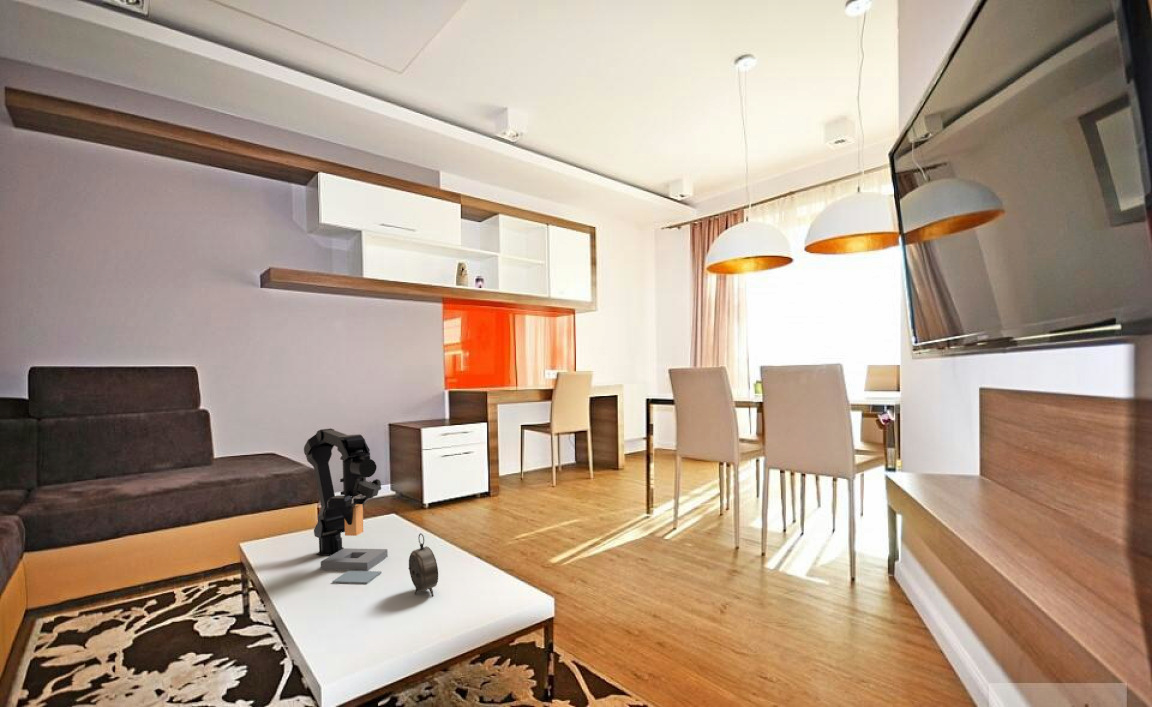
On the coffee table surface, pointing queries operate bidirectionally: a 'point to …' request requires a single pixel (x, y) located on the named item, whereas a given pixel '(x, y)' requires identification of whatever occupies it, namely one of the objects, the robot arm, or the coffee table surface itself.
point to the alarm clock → (423, 568)
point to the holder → (354, 559)
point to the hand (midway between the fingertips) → (353, 522)
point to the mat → (357, 577)
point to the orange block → (355, 522)
